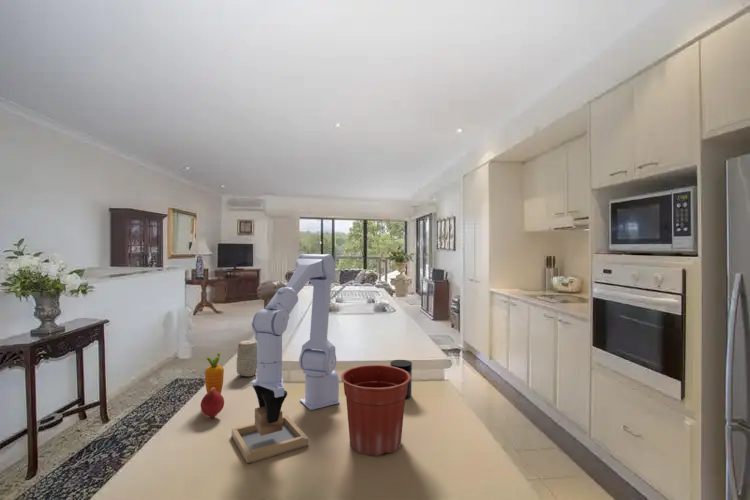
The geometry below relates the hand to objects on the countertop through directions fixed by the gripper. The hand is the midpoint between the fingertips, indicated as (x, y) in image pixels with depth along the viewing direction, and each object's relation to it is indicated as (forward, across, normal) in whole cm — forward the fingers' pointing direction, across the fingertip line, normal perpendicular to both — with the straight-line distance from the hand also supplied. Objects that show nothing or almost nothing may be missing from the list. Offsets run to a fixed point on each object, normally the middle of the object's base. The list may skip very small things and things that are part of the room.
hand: (269, 417), depth 91 cm
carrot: (+6, -28, -7) cm, 29 cm away
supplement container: (+6, -5, +43) cm, 44 cm away
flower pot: (+6, +14, +21) cm, 26 cm away
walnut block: (+3, 0, 0) cm, 3 cm away
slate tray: (+6, 0, 0) cm, 6 cm away
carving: (+6, -49, +8) cm, 50 cm away
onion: (+6, -20, -9) cm, 23 cm away
